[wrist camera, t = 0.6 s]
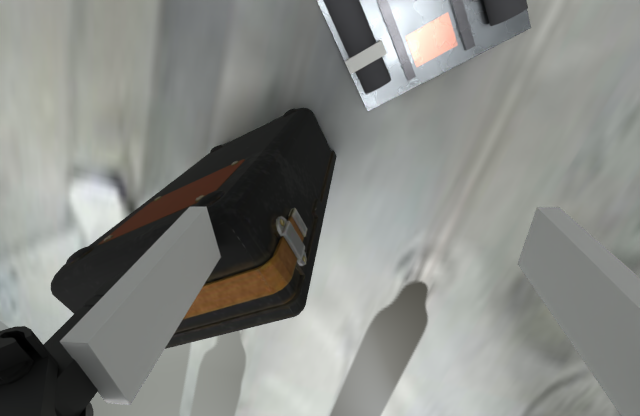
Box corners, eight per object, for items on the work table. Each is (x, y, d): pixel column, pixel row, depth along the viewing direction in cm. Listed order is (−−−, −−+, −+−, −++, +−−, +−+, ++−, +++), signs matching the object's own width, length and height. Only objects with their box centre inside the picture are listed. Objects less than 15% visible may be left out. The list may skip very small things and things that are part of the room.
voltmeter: (241, 203, 43) (119, 375, 21) (205, 149, 39) (16, 288, 18) (343, 162, 38) (319, 330, 16) (312, 96, 34) (231, 198, 13)
